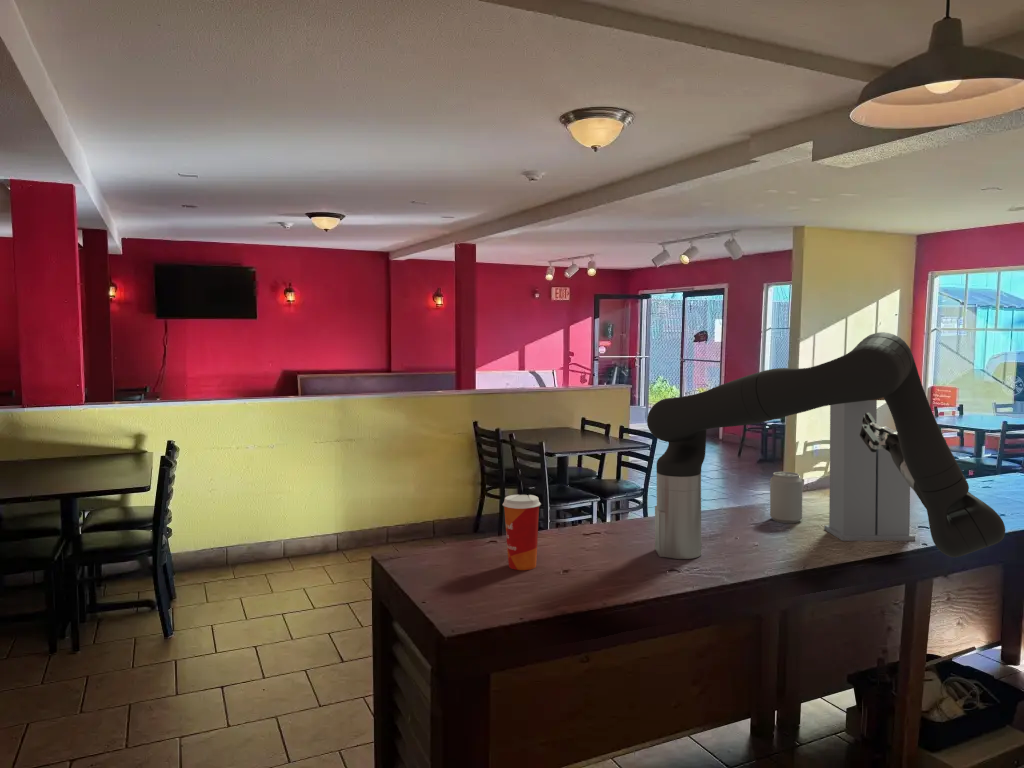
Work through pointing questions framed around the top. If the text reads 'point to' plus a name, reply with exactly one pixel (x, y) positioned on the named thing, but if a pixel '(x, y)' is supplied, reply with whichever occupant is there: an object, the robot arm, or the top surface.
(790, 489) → the can
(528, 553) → the paper cup
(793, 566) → the top surface
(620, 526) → the top surface
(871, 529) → the stand
